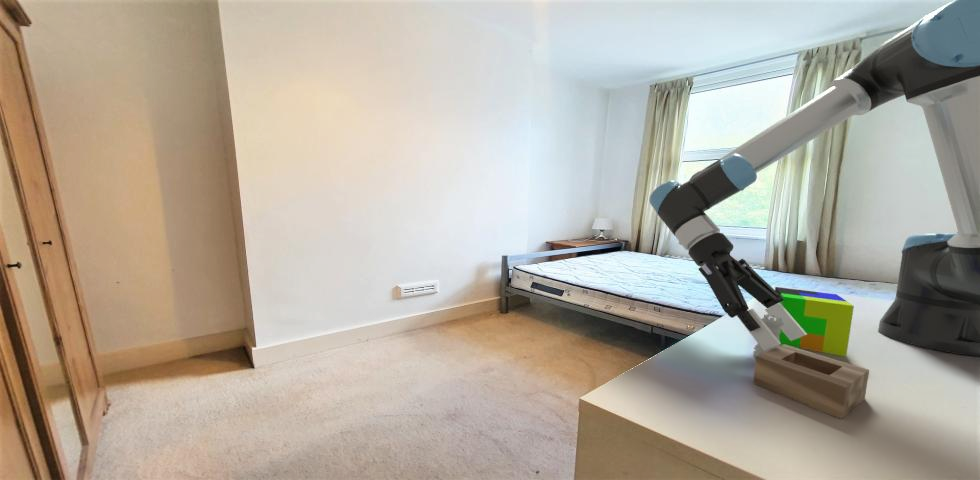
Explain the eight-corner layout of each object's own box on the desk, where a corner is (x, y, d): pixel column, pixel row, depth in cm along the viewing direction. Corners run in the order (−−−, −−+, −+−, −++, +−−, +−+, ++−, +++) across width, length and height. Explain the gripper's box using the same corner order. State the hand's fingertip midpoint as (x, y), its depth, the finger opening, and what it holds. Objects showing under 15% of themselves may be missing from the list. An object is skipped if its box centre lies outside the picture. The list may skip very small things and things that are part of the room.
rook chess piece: (789, 365, 60) (795, 321, 59) (761, 362, 61) (766, 319, 60) (774, 354, 64) (779, 313, 63) (747, 351, 65) (752, 311, 64)
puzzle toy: (829, 339, 73) (836, 294, 71) (846, 356, 64) (853, 305, 63) (770, 329, 78) (775, 286, 77) (778, 344, 70) (784, 296, 68)
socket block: (780, 369, 58) (784, 344, 58) (864, 398, 50) (869, 369, 49) (753, 383, 54) (756, 356, 53) (841, 419, 45) (846, 387, 44)
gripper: (717, 251, 79) (792, 341, 67) (657, 254, 68) (734, 362, 56) (746, 231, 74) (833, 324, 62) (686, 230, 63) (778, 344, 51)
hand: (786, 342), depth 59 cm, fingers open, 10 cm apart
